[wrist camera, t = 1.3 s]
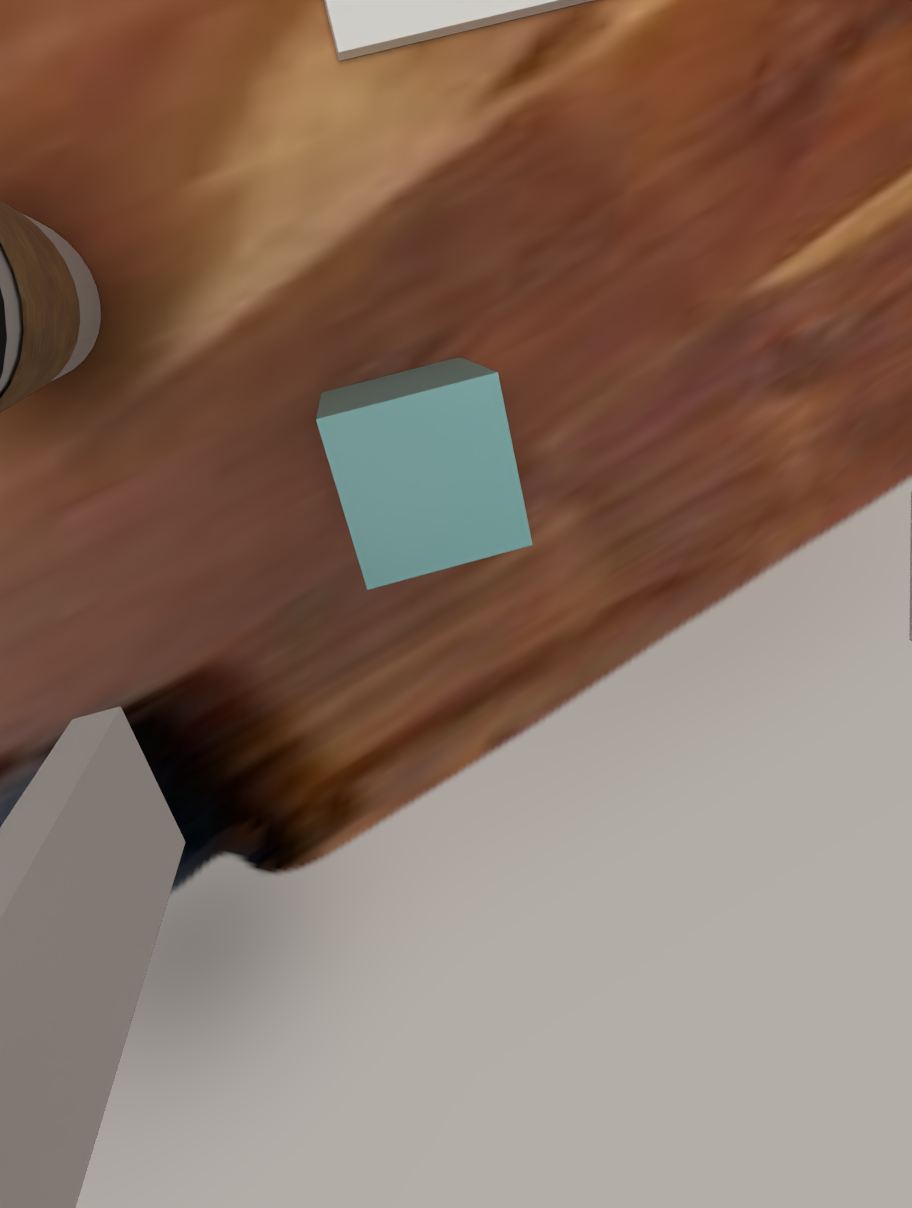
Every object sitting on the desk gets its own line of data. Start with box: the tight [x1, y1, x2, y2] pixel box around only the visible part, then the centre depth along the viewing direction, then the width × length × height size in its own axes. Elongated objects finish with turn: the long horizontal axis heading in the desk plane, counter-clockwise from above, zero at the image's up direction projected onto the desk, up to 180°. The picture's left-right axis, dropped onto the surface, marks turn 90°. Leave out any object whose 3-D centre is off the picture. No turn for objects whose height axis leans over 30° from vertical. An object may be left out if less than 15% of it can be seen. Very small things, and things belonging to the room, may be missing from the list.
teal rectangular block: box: [316, 357, 532, 590], centre depth 29 cm, size 6×6×8 cm
